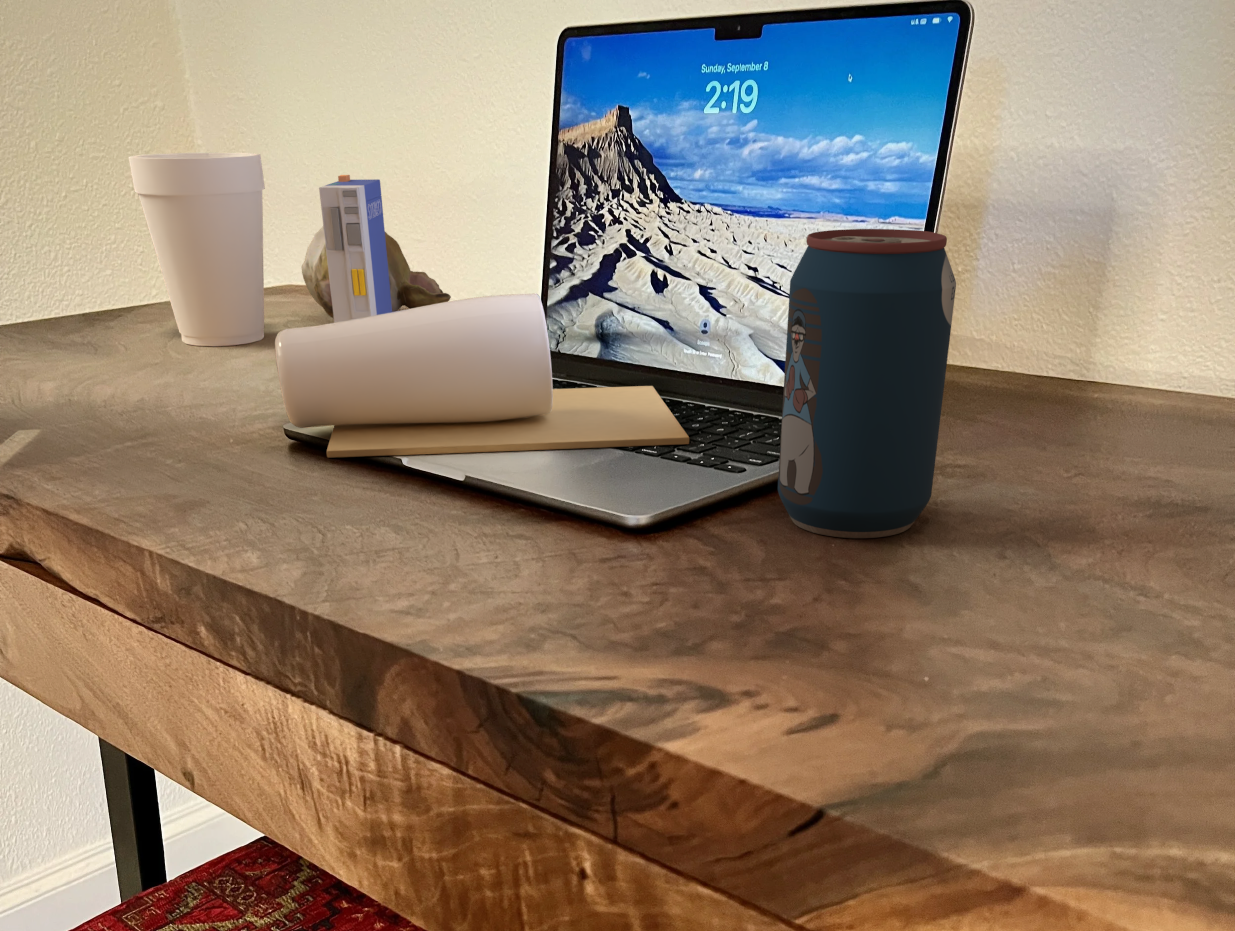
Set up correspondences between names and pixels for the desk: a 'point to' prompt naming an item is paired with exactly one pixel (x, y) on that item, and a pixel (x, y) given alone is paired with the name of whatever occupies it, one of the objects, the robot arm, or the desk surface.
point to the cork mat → (528, 428)
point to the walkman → (355, 248)
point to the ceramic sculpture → (403, 282)
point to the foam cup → (207, 240)
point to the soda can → (864, 380)
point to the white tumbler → (420, 365)
